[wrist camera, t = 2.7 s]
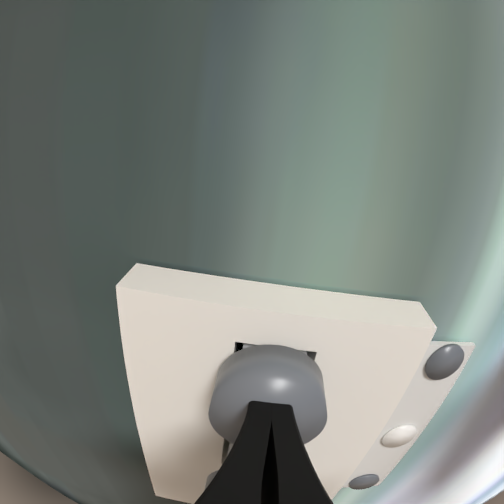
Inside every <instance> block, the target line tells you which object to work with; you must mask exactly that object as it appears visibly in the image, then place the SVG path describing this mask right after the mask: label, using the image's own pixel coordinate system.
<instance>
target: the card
mask: <svg viewBox="0 0 504 504" xmlns="http://www.w3.org/2000/svg"><path fill="white" fill-rule="evenodd" d="M474 348H475V344H474V343H473V342H444V341H431V342H430V344H429V346H428V349H427V351H426V353H425V355H424V357H423V359H422V361H421V363H420V365H419V367H418V369H417V371H416V373H415V375H414V376H413V378H412V380H411V382H410V384H409V386H408V388H407V389H406V391H405V393H404V395H403V397H402V398H401V400H400V402H399V403H398V405H397V407H396V409H395V410H394V412H393V414H392V415H391V417H390V419H389V420H388V422H387V423H386V425H385V427H384V428H383V430H382V431H381V433H380V434H379V436H378V437H377V439H376V441H375V442H374V444H373V445H372V446H371V448H370V449H369V451H368V452H367V454H366V455H365V457H364V458H363V459H362V461H361V462H360V464H359V465H358V466H357V468H356V469H355V470H354V472H353V473H352V475H351V476H350V477H349V478H348V480H347V481H346V482H345V484H344V485H343V486H342V487H350V488H352V489H365V488H369V487H371V486H378V485H379V484H380V483H381V482H382V481H383V480H384V479H385V478H386V476H387V475H388V474H389V473H390V472H391V471H392V470H393V468H394V467H395V466H396V465H397V464H398V462H399V461H400V460H401V459H402V458H403V456H404V455H405V454H406V453H407V451H408V450H409V449H410V447H411V446H412V445H413V444H414V442H415V441H416V440H417V438H418V437H419V436H420V434H421V433H422V432H423V430H424V429H425V427H426V426H427V425H428V423H429V422H430V420H431V419H432V417H433V416H434V415H435V413H436V412H437V410H438V409H439V407H440V406H441V404H442V403H443V401H444V399H445V398H446V396H447V395H448V393H449V392H450V390H451V388H452V387H453V385H454V383H455V382H456V380H457V378H458V377H459V375H460V373H461V371H462V370H463V368H464V366H465V364H466V363H467V361H468V359H469V357H470V355H471V353H472V351H473V350H474Z"/></svg>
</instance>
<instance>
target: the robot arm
mask: <svg viewBox="0 0 504 504" xmlns="http://www.w3.org/2000/svg"><path fill="white" fill-rule="evenodd" d="M194 504H333V502H332V501H331V499H330V497H329V496H328V494H327V492H326V491H325V489H324V487H323V485H322V483H321V481H320V479H319V477H318V475H317V473H316V471H315V469H314V467H313V465H312V463H311V460H310V458H309V456H308V453H307V451H306V448H305V446H304V443H303V441H302V438H301V435H300V432H299V429H298V426H297V423H296V419H295V415H294V411H293V407H292V406H291V405H290V404H279V403H270V402H261V401H250V402H249V404H248V409H247V413H246V417H245V420H244V422H243V425H242V427H241V430H240V432H239V434H238V436H237V438H236V441H235V443H234V445H233V447H232V449H231V450H230V452H229V454H228V456H227V457H226V459H225V461H224V462H223V464H222V466H221V467H220V469H219V471H218V472H217V474H216V475H215V477H214V478H213V480H212V481H211V482H210V484H209V485H208V487H207V488H206V489H205V491H204V492H203V493H202V494H201V496H200V497H199V498H198V499H197V501H196V502H195V503H194Z"/></svg>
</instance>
